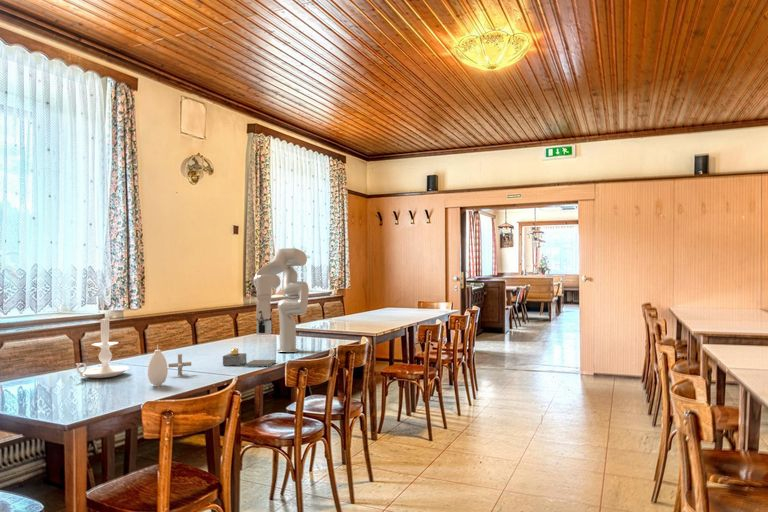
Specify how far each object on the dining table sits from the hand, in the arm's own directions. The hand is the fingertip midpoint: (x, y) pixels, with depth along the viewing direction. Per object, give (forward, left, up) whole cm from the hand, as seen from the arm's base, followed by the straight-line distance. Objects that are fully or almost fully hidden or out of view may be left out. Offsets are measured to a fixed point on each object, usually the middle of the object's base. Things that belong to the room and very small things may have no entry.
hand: (264, 332), depth 275 cm
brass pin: (+4, -15, -13) cm, 20 cm away
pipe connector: (+33, -29, -17) cm, 47 cm away
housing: (0, 0, -1) cm, 1 cm away
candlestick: (+39, -65, -17) cm, 78 cm away
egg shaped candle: (+55, -27, -17) cm, 64 cm away
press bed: (+5, 0, -16) cm, 17 cm away
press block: (+4, -14, -16) cm, 22 cm away
